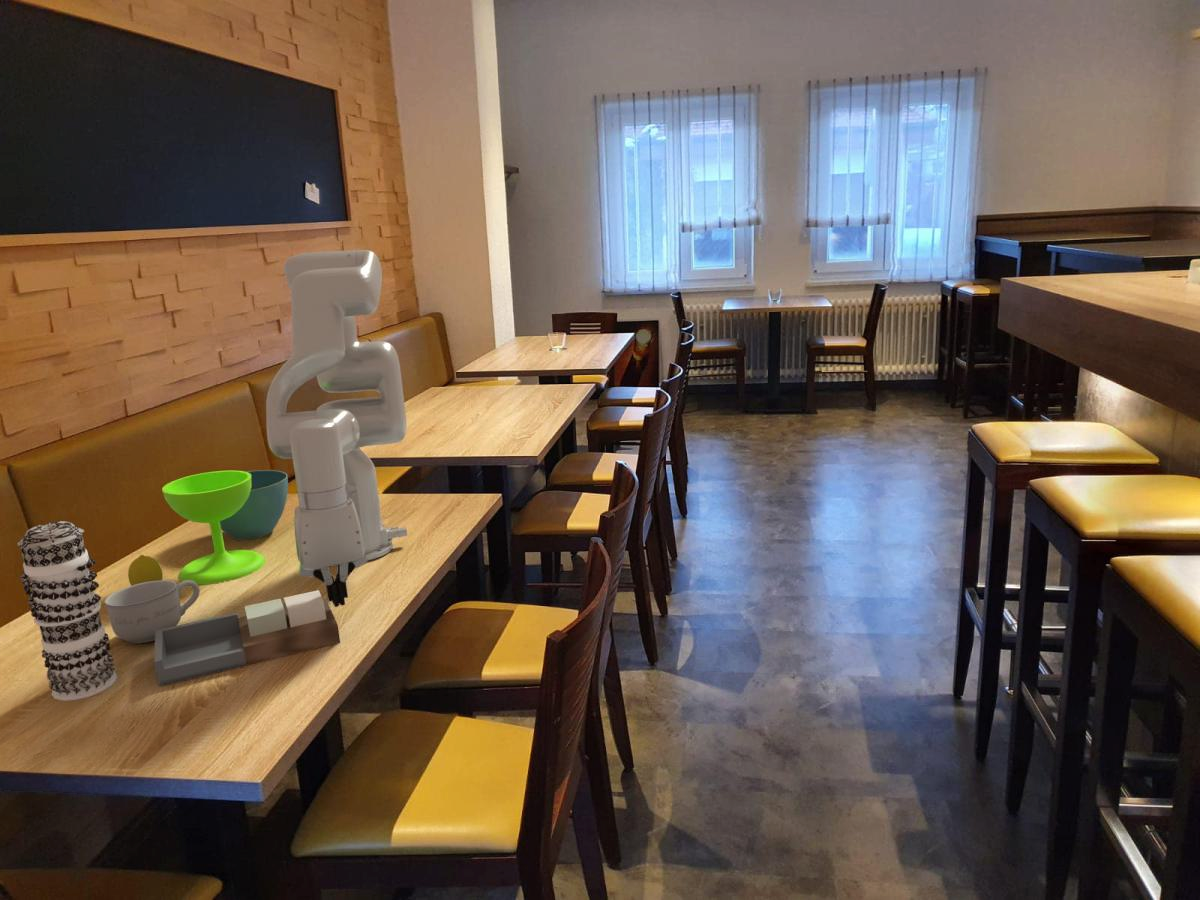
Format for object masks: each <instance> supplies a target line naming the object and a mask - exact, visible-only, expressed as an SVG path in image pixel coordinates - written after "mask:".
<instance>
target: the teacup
mask: <svg viewBox="0 0 1200 900" xmlns="http://www.w3.org/2000/svg"><path fill="white" fill-rule="evenodd" d="M186 587H190V588H192V595H191V596H190V597H189V598H188V600H187V601H186V602H184V603H183V604H181V601H180V598H181V596H182V592H183V590H184V588H186ZM200 593H201V589H200V587H199V584H197V583H195V582H194V581H191V580H185V581H181V582H179V583H178V584H177V582H175V581H173V580H168V579H167V580H166V579H164V580H163V579H162V580H161V581H151V582H145V583H141V584H136V585H133V586H131V585H130V586H127V587H124V588H123V589H119V590H117V591H115V592H113V593H111V594H110V595H108V596H107V597H106V599H104V605H105V606H106V609H107V614H108V619H109V623H110V625H111V628H112V631H113V633H114V635H116V637H118V638H119V639H121V640H123V641H127V642H128V643H131V644H145V643H149V642H153V641H154V642H155V630H158V629H163V628H168V627H172V626H177V625H179V623H180V621H181V618H182V617H183V616H184V615H185V613H186V612H187V610H188V609H189V608H190V607H191V606H193V604H194V603H196V601H197V600H198V598H199V597H200Z"/></svg>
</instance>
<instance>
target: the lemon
mask: <svg viewBox="0 0 1200 900" xmlns="http://www.w3.org/2000/svg"><path fill="white" fill-rule="evenodd" d="M127 574H128V577H127V578H128V582H129V584H130V586H133V585H136V584H141V583H145V582H151V581H161V580H163V578H164V577H163V576H164V575H163V570H162V567H161V565H160V563H159V562H158V560H157V559H155V558H153V557H151V556H148V555H144V554H140V555H139V556H138V557H137V558H135V559H134V560H133V561H132V562H131V563H130V565H129V566H128V573H127Z"/></svg>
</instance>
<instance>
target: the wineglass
mask: <svg viewBox="0 0 1200 900" xmlns="http://www.w3.org/2000/svg"><path fill="white" fill-rule="evenodd" d="M251 487H252V484H251V474H250V473H248V472H247V471H244V470H218V471H217V470H216V471H208V472H201V473H196V474H192V475H188V476H184V477H181V478H177V479H176V480H173V481H170V482H168V483H166V484H165V485H164V486H163V487H162V488H161V489H162V490H161V491H162V494H163V497H164V499H165V501H166V503H167V504H168V505H169V507H170V508H171V509H172V510H173V511H174V512H175V513H176V514H178V515H179V516H180V517H181V518H183V519H186V520H189V521H191V522H193V523H199V524H201V523H202V524H209V528H210V529H209V530H210V533H211V539H212V545H213V550H214V552H213V553H211V554H207V555H204V556H202V557H199V558H197V559H194V560H192V561H190V562H189V563H187V564H186V565H185V566H184V567H183V568H181V570H180V571H179V573H178V574H179V576H178V579H179V581H181V582H182V581H185V580H191V581H194V582H195V583H197V585H213V584H212V583H215V584H220V583H219V582H221V583H225V582H224V581H226V582H230V580H231V581H234V580H237V579H240V578H243V577H244V578H245V577H246V576H249V575H251V574H254V573H255V572H257V571H259V570H260V569H261V568H262V567H264V565H265V564H264V563H266V559H265V557H264V555H262V554H260V553H259V552H257V551H254V550H248V549H234V550H232V549H231V550H226V549H225V547H226V546H225V543H224V538H223V530H221V525H220V521H222V520H224V519H226V518H229V517H231V516H232V515H234V514H235V513H236V512H237V511H239V510H240V509H241V508H242V507H243V505H244V504H245V502H246V500H247V499H248V497H249V494H250V491H251ZM258 569H259V570H258ZM254 571H255V572H254Z"/></svg>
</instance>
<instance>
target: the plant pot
mask: <svg viewBox="0 0 1200 900" xmlns="http://www.w3.org/2000/svg"><path fill="white" fill-rule="evenodd" d="M246 472H248V473H250V474H251V484H252V487H251V491H250V494H249V497H248V499H247V500H246V502H245V504H244V505H243V507H242V508H241V509H240V510H239V511H237V512H236V513H235V514H234V515H232V516H231V517H229V518H226V519H224V520H222V521H220V525H221V530H222V532H223V533H225V535H228V536H229V537H230V538H232V539H234V540H237V541H249V539H250V540H255V538H256V539H259V537H260V538H263V537H265V535H266V536H268V535H269V534H271V533H272V532H273V530H274V529H275V528H276V526H277V524H278V523H279V521H280V520H281V517H282V516H283V513H284V510H285V507H286V503H287V498H288V491H289V480H288V479H289V478H288V474H287V473H286V472H283V471H280V470H273V469H271V470H269V469H265V470H264V469H263V470H260V469H259V470H249V471H246Z"/></svg>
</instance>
